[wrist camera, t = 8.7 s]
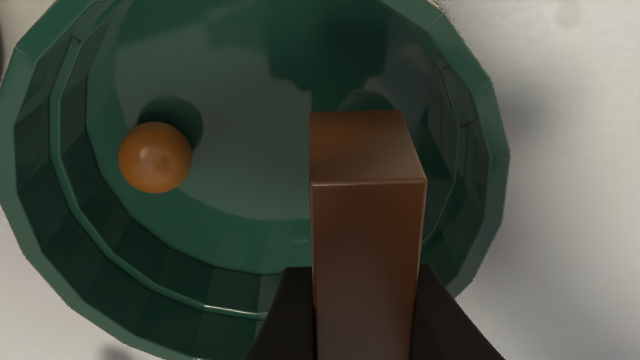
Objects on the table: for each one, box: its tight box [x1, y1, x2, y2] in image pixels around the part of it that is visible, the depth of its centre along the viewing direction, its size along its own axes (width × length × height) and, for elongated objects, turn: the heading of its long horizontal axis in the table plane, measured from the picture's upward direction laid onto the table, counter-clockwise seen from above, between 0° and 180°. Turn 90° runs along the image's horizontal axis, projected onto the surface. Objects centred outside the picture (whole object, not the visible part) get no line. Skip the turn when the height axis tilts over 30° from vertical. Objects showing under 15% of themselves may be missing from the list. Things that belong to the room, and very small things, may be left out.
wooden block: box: [308, 110, 427, 360], centre depth 12 cm, size 2×8×3 cm, turn 1°
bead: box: [117, 122, 192, 194], centre depth 18 cm, size 2×2×2 cm
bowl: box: [0, 0, 510, 360], centre depth 17 cm, size 14×14×5 cm
